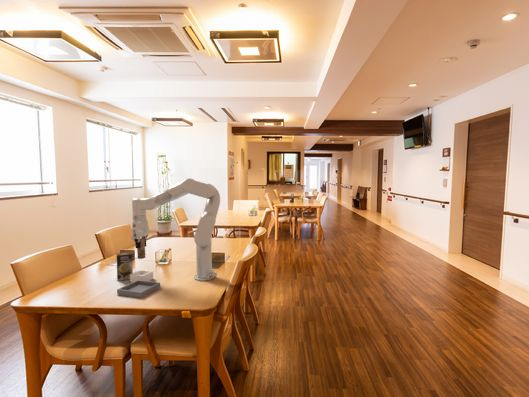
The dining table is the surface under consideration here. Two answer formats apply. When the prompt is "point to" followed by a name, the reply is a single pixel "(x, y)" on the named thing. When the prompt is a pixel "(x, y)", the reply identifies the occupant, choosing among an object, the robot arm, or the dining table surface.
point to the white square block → (141, 275)
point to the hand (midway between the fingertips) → (141, 246)
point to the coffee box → (124, 266)
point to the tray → (138, 289)
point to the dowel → (141, 249)
